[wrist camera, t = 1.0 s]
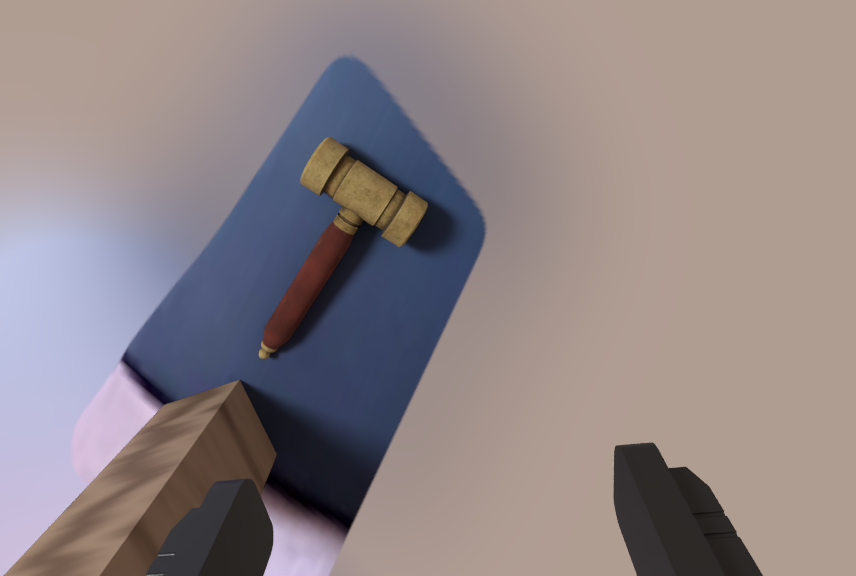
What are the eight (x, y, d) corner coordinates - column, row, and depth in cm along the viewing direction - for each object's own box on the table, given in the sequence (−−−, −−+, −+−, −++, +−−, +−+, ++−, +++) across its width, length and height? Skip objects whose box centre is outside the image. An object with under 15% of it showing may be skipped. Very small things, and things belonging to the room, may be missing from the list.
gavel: (302, 395, 45) (203, 341, 43) (312, 371, 49) (223, 320, 47) (429, 208, 40) (322, 136, 38) (428, 199, 44) (332, 134, 42)
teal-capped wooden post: (239, 379, 47) (-16, 736, 19) (276, 454, 50) (103, 872, 21) (163, 405, 48) (-201, 793, 19) (204, 478, 50) (-64, 920, 21)
